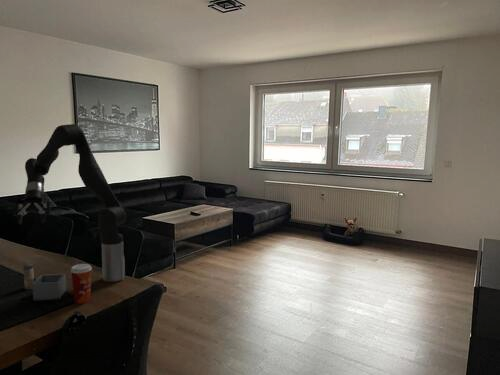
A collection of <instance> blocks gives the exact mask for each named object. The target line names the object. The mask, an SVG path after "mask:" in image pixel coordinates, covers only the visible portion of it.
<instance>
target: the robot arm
mask: <svg viewBox="0 0 500 375" xmlns="http://www.w3.org/2000/svg"><path fill="white" fill-rule="evenodd" d="M73 145H74V146H75V148H76V149H77V150H76V151H77V152H78V155H79V159H78V160H79V161H78V169H77V171H78V175H79V177H80V179H81V181H82V183H83V185H84V187H85V188H87V190H89V191H90V192H91V193H92V194H93V195H94V196H96V197H97V199H99V200H100V202H101V203H102V205H103V207H104V208H103V209H101V210H100V211H99V213H98V215H97V216H98V217H97V223H98V234H99V235H98V236H99V238H100V241H101V263H102V264H101V265H102V266H101V267H102V268H101V269H102V272H101V273H102V281H103V282H108V283H114V282H118V281H124V278H125V276H126V270H125V269H126V268H125V266H126V265H125V261H126V260H125V255H124V236H123V234H121V233H118V227H119V226H122V225H123V224H124V223H125V222H126V220H127V214H126V211H125V209H124V208H123V206H122V204H121V203H120V201H119V200H118V198H117V196H116V195H115V194H114V192H113V189H112V188H111V186H110V185H109V182H108V180H107V179H106V176H105V175H104V173H103V171H102V169H101V168H100V165H99V164H98V162H97V160H96V158H95V156H94V153H93V151H92V150H91V147H90V145H89V142H88V139H87V137H86V135H85V132H84V130H83V129H82V127H81V126H80V125H78V124H75V123H70V124H62V125H58V126H57V127H56V128H55V129H54V130H53V132H52V134H51V136H50V138H49V140H48V142H47V143H46V145H45V147H43V149H42V150H41V151H40V152H39V153H38V155H37V156H36V158H34V157H30V158H29V159H27V160H26V161H25V165H24V169H25V173H26V177H27V183H26V187H25V192H24V199H23V203H19V202H15V204H14V209H13V211H12V212H13V216H14V217H15V218H16V217H17V220H16V221H17V223H18V225H22V223H23V217H24V216H25V215H27V214H29V213H30V214H31V213H39V214H40V215H41V216H40V223H41V224H44V223H45V222H46V216H50V215H51V202H50V201H47V202H44V194H45V187H44V186H45V177H44V176H46V175H48V173H49V171H50V168H51V166H52V164H53V163H54V162H55V161H56V160H57V159H58V157H59V155H60V152H59V150H60V149H62V148H63V147H64V146H67V147H68V146H73ZM44 207H45V209H46V210H43V208H44Z"/></svg>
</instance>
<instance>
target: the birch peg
mask: <svg viewBox="0 0 500 375" xmlns="http://www.w3.org/2000/svg"><path fill="white" fill-rule="evenodd" d="M22 268H23V279H24V280H23V281H24V289H25V290H33V286H32V284H33V283H34V282H35V276H34V263H26V264H24V265H23V266H22Z"/></svg>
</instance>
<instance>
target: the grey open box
mask: <svg viewBox="0 0 500 375" xmlns="http://www.w3.org/2000/svg"><path fill="white" fill-rule="evenodd" d="M32 286H33V288H32V301H34V302H36V301H38V302H39V301H51V300H52V301H53V300H54V299H55V300H60V299H61V298H62V296H63V295H64V293H65V292H66V291H67V278H66V273H58V274H57V273H55V274H54V273H53V274H40V276H38V278H36V280H34V283H33V284H32ZM55 300H54V301H55Z"/></svg>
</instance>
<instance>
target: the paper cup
mask: <svg viewBox="0 0 500 375" xmlns="http://www.w3.org/2000/svg"><path fill="white" fill-rule="evenodd" d="M92 270H93V267H92V266H91V265H90V264H89V263H78V264H75V265H72V266H71V269H70V273H71V280H72V288H73V298H74V303H75V304H85V303H88V302H90V300H91V293H92V292H91V290H92V289H91V285H92V284H91V283H92Z"/></svg>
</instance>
